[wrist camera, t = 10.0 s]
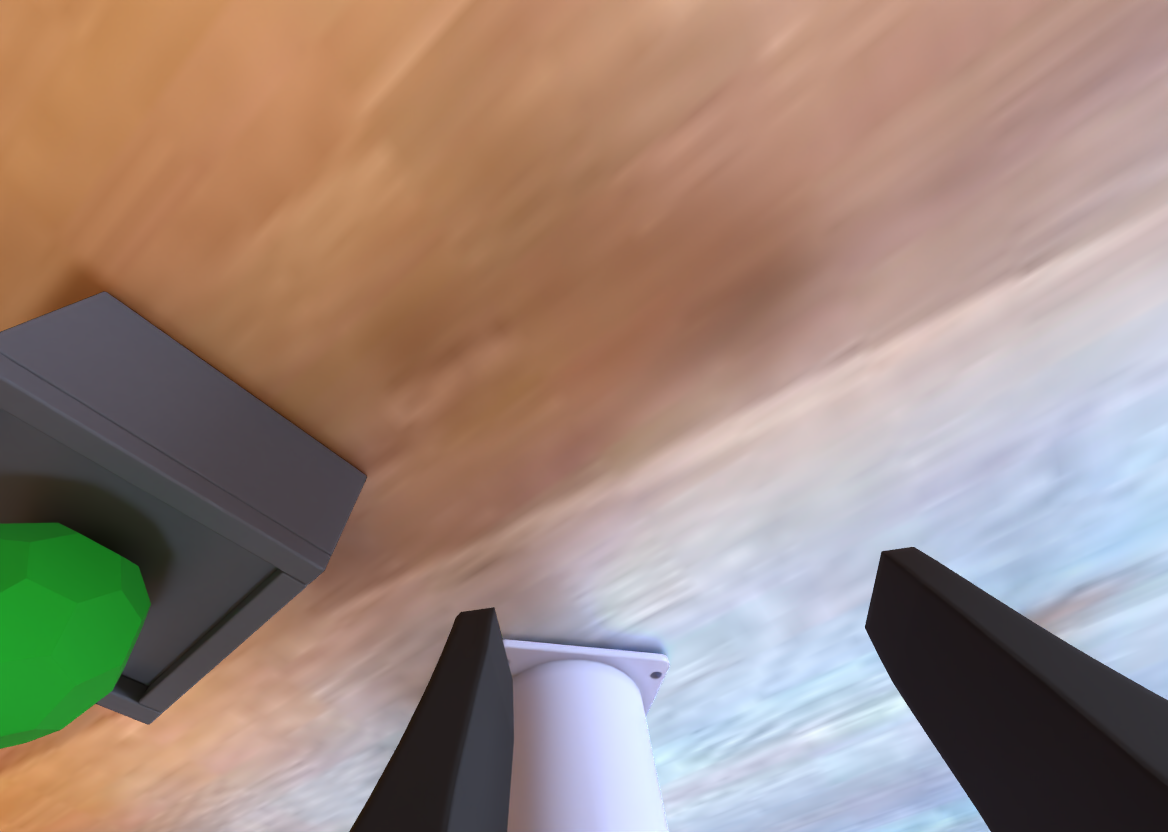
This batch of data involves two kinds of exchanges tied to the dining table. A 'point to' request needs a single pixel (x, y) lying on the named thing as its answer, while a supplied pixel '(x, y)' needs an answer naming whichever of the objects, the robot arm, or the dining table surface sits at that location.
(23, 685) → the polyhedron
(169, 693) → the grey box
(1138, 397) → the dining table surface
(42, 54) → the dining table surface
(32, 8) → the dining table surface
